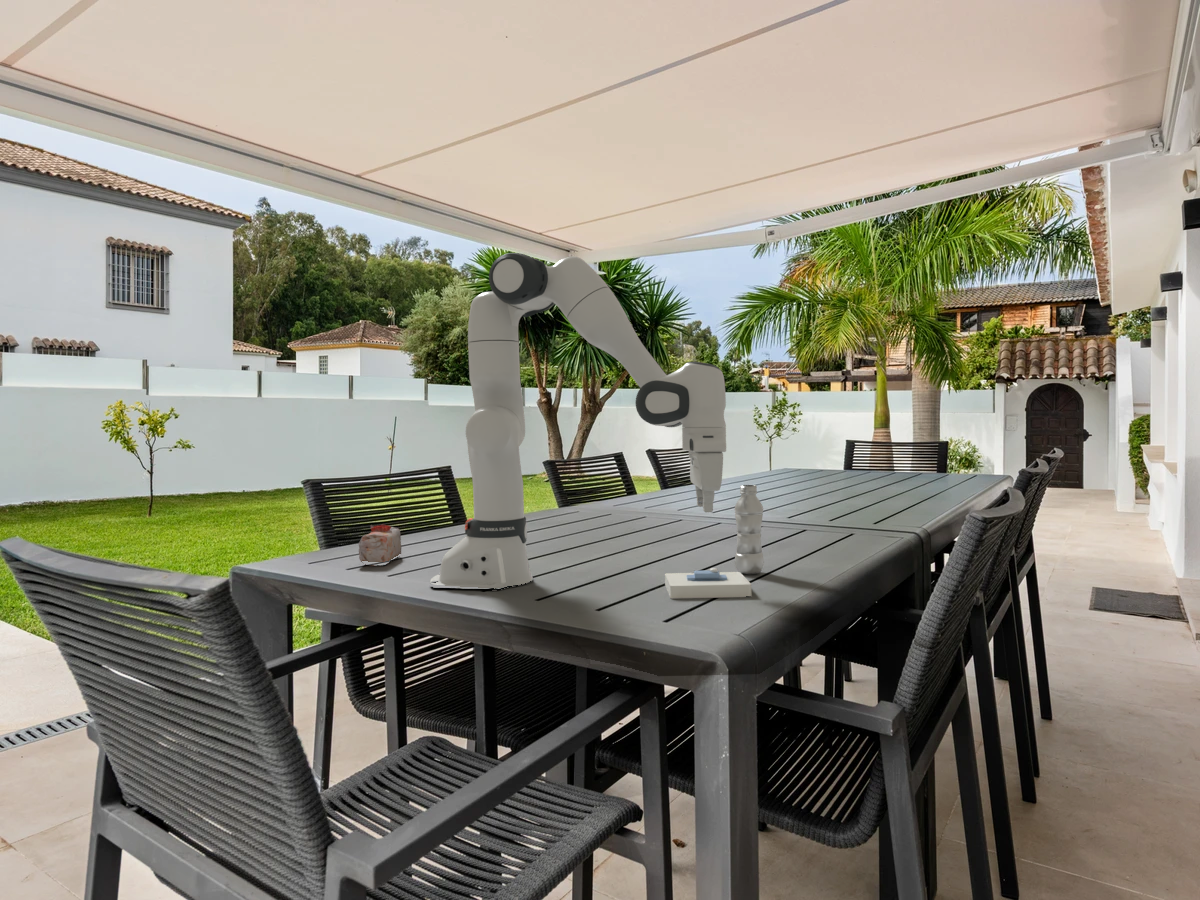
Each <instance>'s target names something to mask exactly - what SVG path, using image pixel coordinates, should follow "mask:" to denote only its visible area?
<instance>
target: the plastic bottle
mask: <svg viewBox="0 0 1200 900" xmlns="http://www.w3.org/2000/svg"><path fill="white" fill-rule="evenodd" d="M739 487H740V488H739V489H740V491H739V494H740V497H739V498H738V500H737V502H736V503H735V506H734V517H735V518H734V519H735V523H736V533H737V534H736V540H737V541H736V552H735V555H734V556H735V557H734V567H735V569H736V572H740V573H741V574H746V575H752V574H753V575H754V574H758V573H761V572H762V571H763V569H764V564H765V561H764V554H763V549H762V523H763V514H764V506H763V504H762V502H761V501H760V499H759V498H758V497H757V494H758V491H757V484H742V485H740V486H739Z"/></svg>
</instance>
